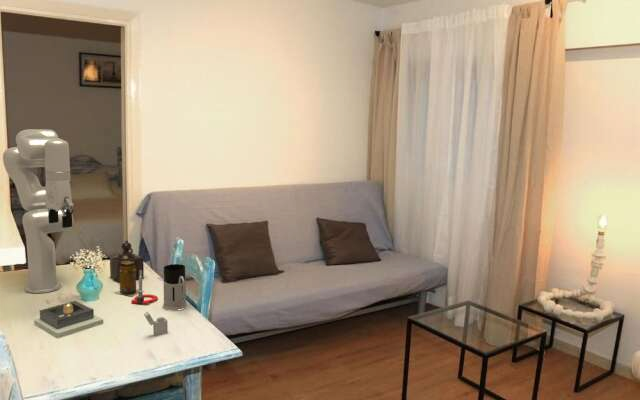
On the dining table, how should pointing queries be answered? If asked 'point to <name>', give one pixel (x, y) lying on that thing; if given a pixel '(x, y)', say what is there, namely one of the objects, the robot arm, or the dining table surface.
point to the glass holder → (174, 287)
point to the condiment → (128, 279)
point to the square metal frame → (58, 322)
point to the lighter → (157, 324)
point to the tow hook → (140, 297)
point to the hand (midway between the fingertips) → (60, 224)
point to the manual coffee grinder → (125, 256)
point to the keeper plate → (68, 329)
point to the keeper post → (68, 309)
